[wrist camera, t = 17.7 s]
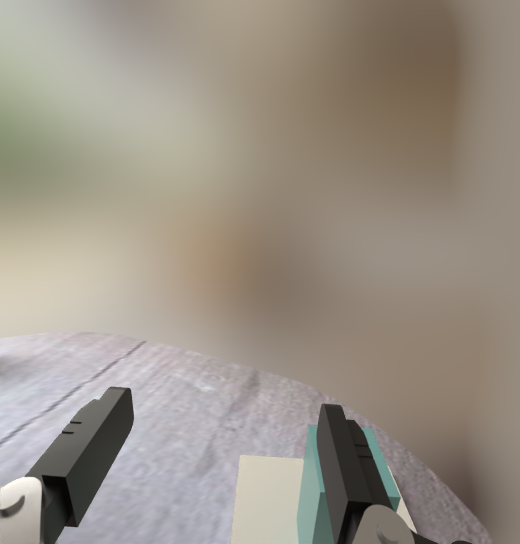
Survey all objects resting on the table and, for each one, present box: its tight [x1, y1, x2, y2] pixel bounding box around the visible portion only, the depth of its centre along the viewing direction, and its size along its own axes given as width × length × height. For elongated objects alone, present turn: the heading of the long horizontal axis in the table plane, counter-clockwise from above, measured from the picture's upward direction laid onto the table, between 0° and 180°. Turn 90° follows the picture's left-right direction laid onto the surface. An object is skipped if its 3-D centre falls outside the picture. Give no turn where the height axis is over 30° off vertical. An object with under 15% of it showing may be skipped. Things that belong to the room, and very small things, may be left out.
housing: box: [296, 425, 401, 544], centre depth 23 cm, size 5×5×12 cm
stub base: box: [230, 455, 417, 544], centre depth 24 cm, size 18×18×6 cm
